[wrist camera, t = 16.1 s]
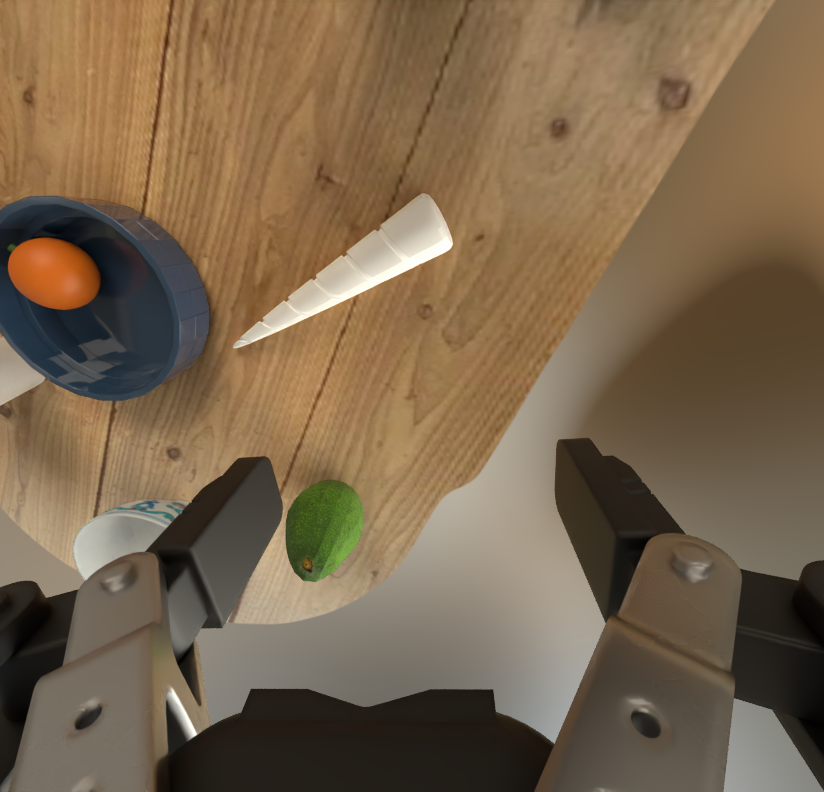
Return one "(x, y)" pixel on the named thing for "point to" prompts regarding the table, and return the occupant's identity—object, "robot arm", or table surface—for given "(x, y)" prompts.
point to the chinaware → (122, 532)
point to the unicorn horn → (364, 265)
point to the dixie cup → (15, 374)
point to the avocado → (322, 528)
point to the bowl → (106, 301)
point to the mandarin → (54, 273)
